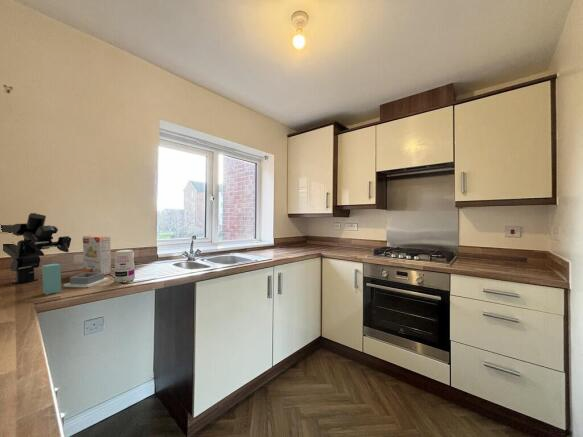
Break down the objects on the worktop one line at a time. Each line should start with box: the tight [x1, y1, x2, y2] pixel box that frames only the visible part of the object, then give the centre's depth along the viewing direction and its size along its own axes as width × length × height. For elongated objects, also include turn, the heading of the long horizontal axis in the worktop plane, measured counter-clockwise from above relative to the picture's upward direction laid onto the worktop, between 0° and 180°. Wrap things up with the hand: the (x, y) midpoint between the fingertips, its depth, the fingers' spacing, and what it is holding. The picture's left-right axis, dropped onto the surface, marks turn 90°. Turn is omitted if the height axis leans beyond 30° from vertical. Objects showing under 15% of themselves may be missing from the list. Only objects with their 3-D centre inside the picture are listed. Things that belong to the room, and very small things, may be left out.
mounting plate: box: [63, 272, 110, 288], centre depth 121 cm, size 12×12×4 cm
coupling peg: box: [41, 263, 62, 295], centre depth 107 cm, size 4×4×12 cm
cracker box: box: [82, 234, 112, 276], centre depth 138 cm, size 14×6×21 cm, turn 69°
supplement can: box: [113, 249, 136, 283], centre depth 125 cm, size 8×8×15 cm
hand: (56, 253), depth 114 cm, fingers open, 9 cm apart
